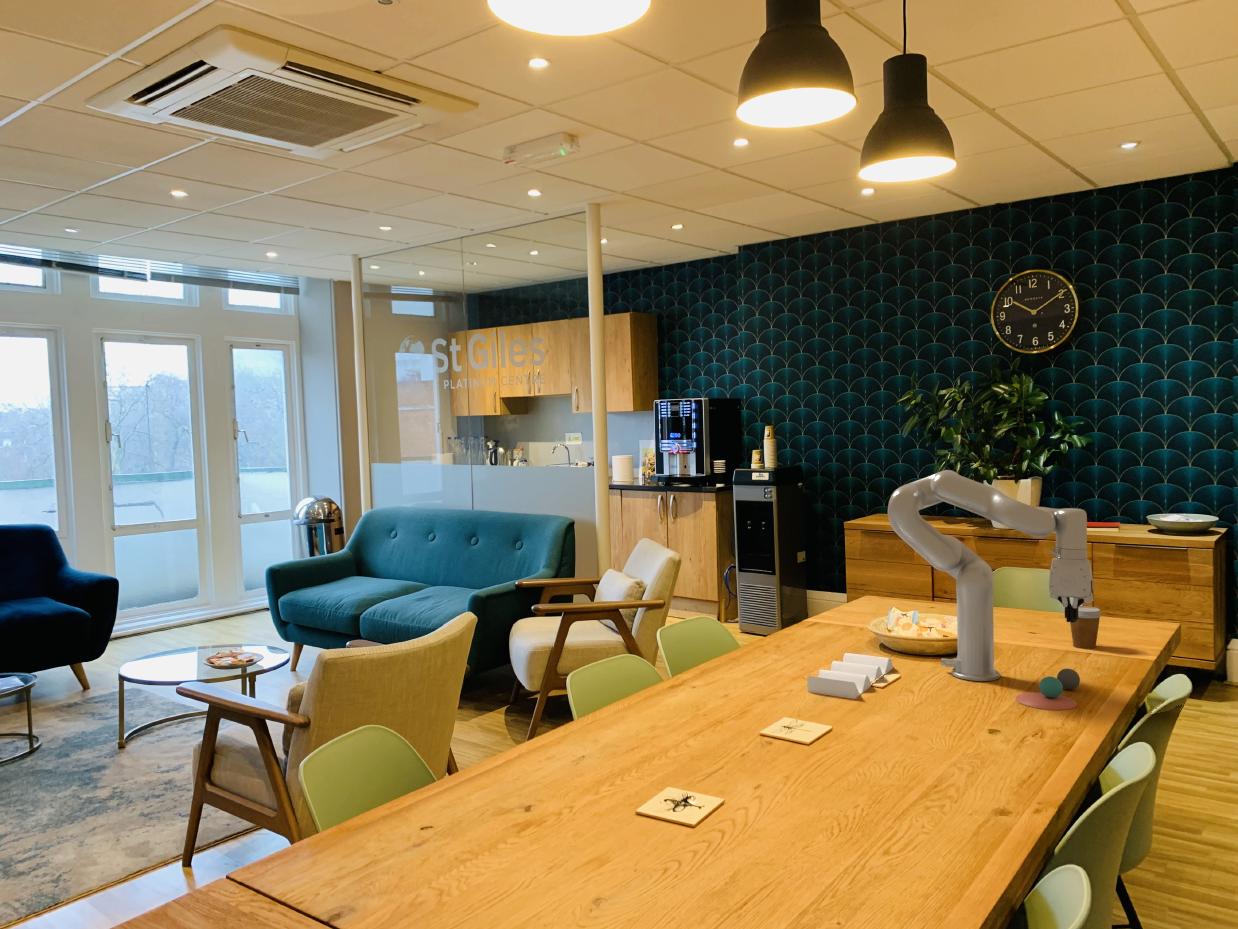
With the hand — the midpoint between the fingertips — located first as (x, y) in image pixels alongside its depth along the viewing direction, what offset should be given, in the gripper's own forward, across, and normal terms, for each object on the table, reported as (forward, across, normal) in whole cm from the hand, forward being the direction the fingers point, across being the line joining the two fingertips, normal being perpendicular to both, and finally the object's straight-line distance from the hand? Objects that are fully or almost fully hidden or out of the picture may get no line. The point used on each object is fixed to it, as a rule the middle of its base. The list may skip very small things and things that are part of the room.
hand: (1071, 621), depth 241 cm
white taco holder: (+18, -48, -32) cm, 61 cm away
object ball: (+14, 0, -16) cm, 22 cm away
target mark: (+17, 0, -20) cm, 26 cm away
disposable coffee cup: (+17, -10, +44) cm, 49 cm away
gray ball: (+14, +1, -6) cm, 16 cm away
